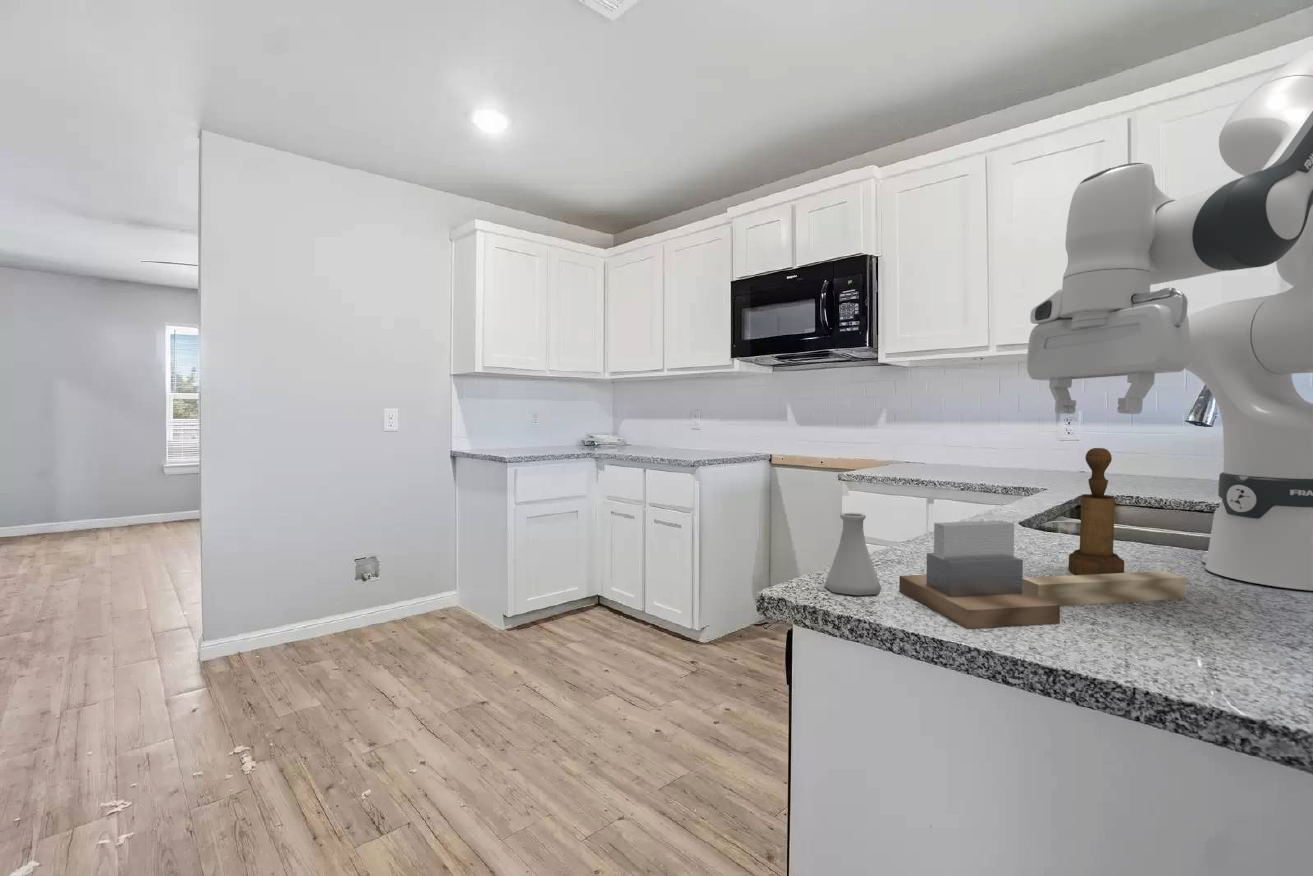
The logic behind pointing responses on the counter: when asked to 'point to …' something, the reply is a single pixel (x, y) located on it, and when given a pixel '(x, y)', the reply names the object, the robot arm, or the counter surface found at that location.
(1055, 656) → the counter surface
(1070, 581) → the maple bar
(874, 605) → the counter surface
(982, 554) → the grey stepped block
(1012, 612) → the walnut base
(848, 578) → the flask
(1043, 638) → the counter surface
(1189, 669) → the counter surface
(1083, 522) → the brown tall knobbed post
